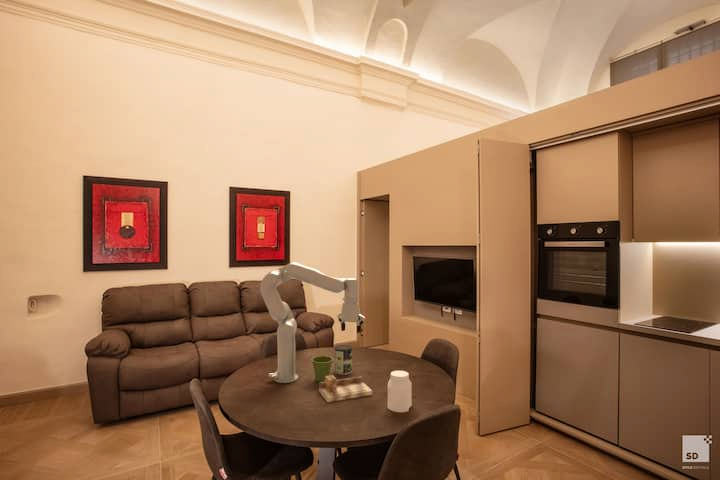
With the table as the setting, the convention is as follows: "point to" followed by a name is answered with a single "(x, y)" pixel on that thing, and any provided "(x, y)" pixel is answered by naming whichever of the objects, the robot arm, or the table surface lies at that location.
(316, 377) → the plant pot
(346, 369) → the coffee can
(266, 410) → the table surface
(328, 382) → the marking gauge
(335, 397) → the board
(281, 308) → the robot arm
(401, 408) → the jar
